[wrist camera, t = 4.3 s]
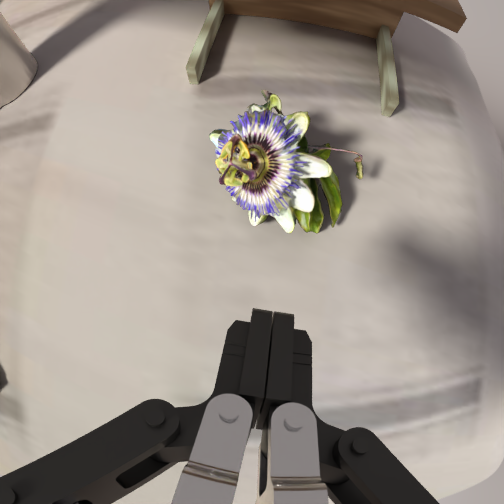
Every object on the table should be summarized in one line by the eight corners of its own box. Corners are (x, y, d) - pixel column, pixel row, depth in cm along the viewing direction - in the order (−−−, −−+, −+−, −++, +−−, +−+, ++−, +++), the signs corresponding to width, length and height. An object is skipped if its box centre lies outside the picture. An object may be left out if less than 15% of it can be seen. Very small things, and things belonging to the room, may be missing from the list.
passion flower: (243, 213, 36) (175, 139, 27) (316, 151, 35) (267, 65, 26) (299, 279, 28) (224, 196, 19) (388, 199, 27) (352, 91, 18)
